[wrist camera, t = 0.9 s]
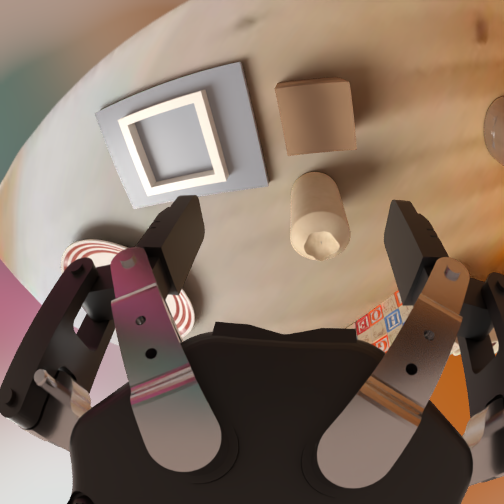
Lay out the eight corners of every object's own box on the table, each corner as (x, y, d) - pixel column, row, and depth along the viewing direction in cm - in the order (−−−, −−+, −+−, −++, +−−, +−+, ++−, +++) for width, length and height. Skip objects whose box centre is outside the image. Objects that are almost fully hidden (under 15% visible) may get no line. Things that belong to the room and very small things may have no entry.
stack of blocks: (352, 346, 50) (356, 402, 41) (330, 336, 49) (332, 396, 39) (440, 285, 38) (463, 348, 28) (422, 269, 36) (447, 337, 27)
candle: (340, 172, 29) (357, 222, 21) (335, 214, 32) (347, 271, 25) (291, 170, 30) (290, 219, 22) (290, 212, 33) (289, 270, 25)
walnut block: (337, 77, 22) (349, 81, 18) (344, 131, 26) (356, 149, 21) (277, 83, 24) (274, 88, 19) (288, 137, 27) (287, 155, 23)
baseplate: (241, 61, 22) (236, 61, 20) (269, 182, 31) (267, 192, 29) (99, 111, 26) (87, 116, 25) (137, 205, 35) (128, 215, 33)
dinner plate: (230, 313, 48) (226, 329, 45) (142, 340, 60) (137, 351, 57) (112, 197, 35) (100, 209, 32) (53, 264, 47) (45, 275, 45)
